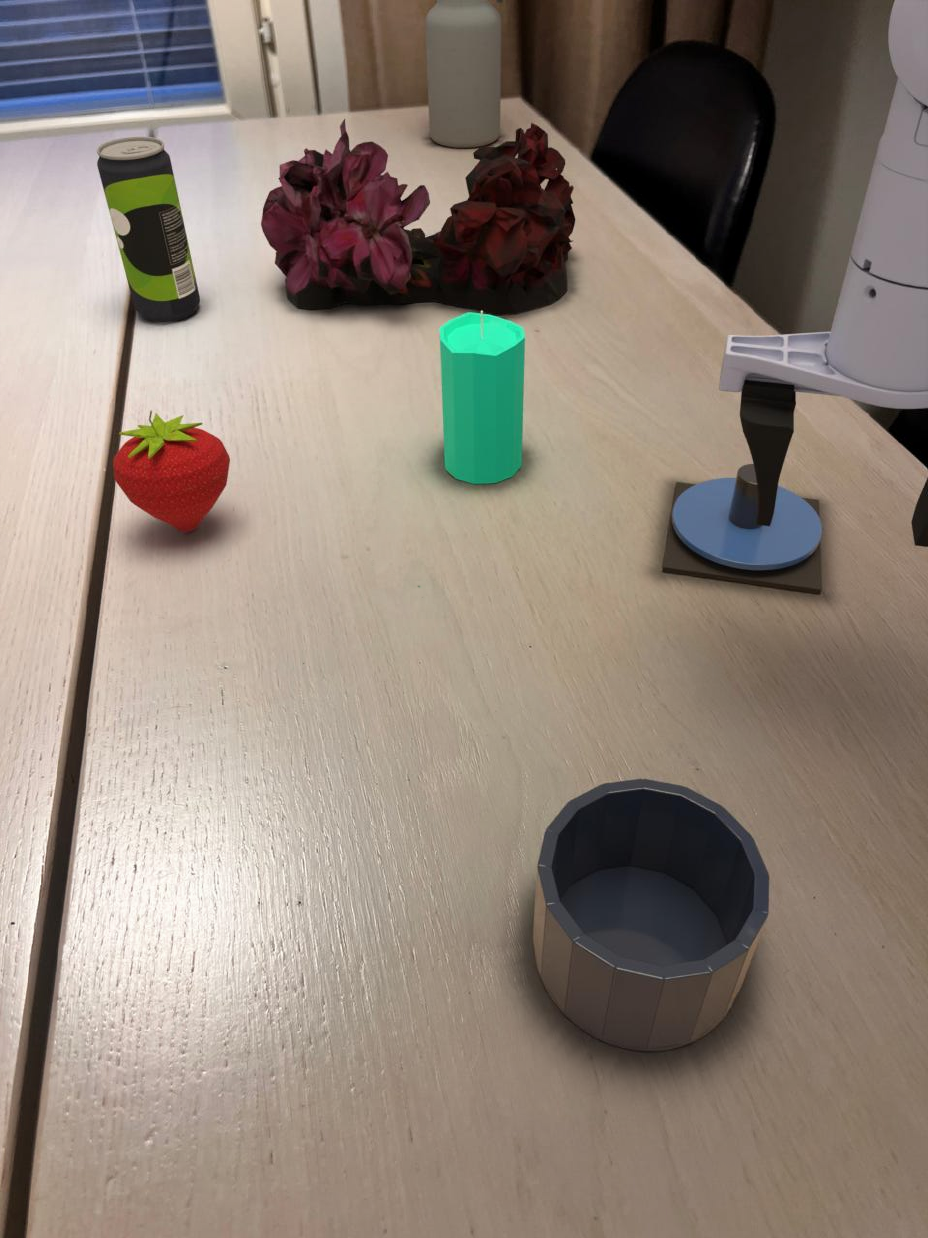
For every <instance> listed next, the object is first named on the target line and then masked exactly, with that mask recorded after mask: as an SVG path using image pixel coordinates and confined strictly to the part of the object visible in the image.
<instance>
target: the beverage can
mask: <svg viewBox="0 0 928 1238" xmlns="http://www.w3.org/2000/svg"><path fill="white" fill-rule="evenodd" d="M96 153H97V155H98V159H97V161H96V165H97V170H98V175H99V178H100V181H101V186H102V189H103V193H104V197H105V200H106V204H107V208H108V211H109V216H110V220H111V223H112V227H113V231H114V235H115V239H116V242H117V247H118V250H119V254H120V257H121V261H122V265H123V269H124V273H125V277H126V280H127V285H128V289H129V292H130V296H131V299H132V305H133V307H134V310H135V311H136V313H137V314H139V315H140V316H142V318H143V319H145V320H146V321H149V322H153V323H160V324H161V323H162V324H163V323H164V324H165V323H174V322H178V321H182V320H184V319H187V318H188V317H191V316H192V315H193V314H194V313H196V310H197V308H198V306H199V304H200V302H201V297H200V293H199V287H198V284H197V278H196V274H195V273H196V272H195V269H194V264H193V259H192V254H191V250H190V245H189V240H188V237H187V231H186V226H185V221H184V217H183V212H182V207H181V202H180V197H179V194H178V188H177V184H176V180H175V174H174V170H173V165H172V161H171V156H170V155H169V153H168V152H167V151H166V150H165V143H164V141H163V140H161V139H160V138H157V137H153V136H126V137H120V138H115V139H112V140H109V141H105V142H103V143H101V144H100V145H99V146H97V148H96Z"/></svg>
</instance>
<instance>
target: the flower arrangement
mask: <svg viewBox="0 0 928 1238" xmlns="http://www.w3.org/2000/svg"><path fill="white" fill-rule="evenodd" d="M346 126H347V125H346V118H344V119H343V120H342V122H341V123H340V125H339V129H340V135H341V136H340V137H339V138H338V140H337V142H336V143H335V146H334V149H333V152H332V153H331V151H329V150H328V149H324V150H325V151H324V152H323V153H321V152H319V151H317V150H316V149H309V148H307V147H306V148H304V149H303V153H304V155H303V156H302V157H301V158H300V159H299V160H296V159H295V160H294V159H293V160H289V161H286V162H283V163H281V164H279V177H278V180H279V183H280V185H281V186H280V185H279V186H277V187H275V188H273V189H271V190H270V191H269V192H268V195H267V197H266V198H265V202H264V204H263V207H262V214H261V220H260V227H261V230H262V233H263V235H264V237H265V239H266V241H267V243H268V245H269V246H270V247H271V248H272V249H273V250H274V251H275V259H274V265H275V266H276V267H277V268H278V269H279V270H280V272H282V274H283V275H284V276H285V278H284V286H285V287H284V288H285V292H286V298H287V299H288V300H289V302H291V303H292V304H293V305H294V306H295V307H296V308H298V309H305V310H324V309H325V310H326V309H327V310H328V309H331V308H334V307H336V306H340V305H343V304H349V305H357V306H359V305H360V306H373V305H374V306H375V305H389V304H393V305H395V304H396V305H404V304H405V305H406V304H412V303H413V304H414V303H427V302H428V303H429V302H437V303H440V304H445V305H449V306H454V307H459V308H466V309H470V310H474V311H479V312H481V311H483V313H485V314H489V315H493V316H497V315H498V316H499V315H502V316H503V315H517V314H520V313H523V312H524V313H525V312H528V311H531V310H535V309H539V308H542V307H547V306H550V305H552V304H553V303H555V302H557V301H559V300H561V299H562V297H564V295H565V294H566V292H567V291H568V276H567V269H566V264H565V262H566V261H567V260H568V259H569V252H570V251H571V250H572V249H573V247H572V245H571V243H572V242H574V240H571V239H570V236H571V235H572V234H573V233H574V229H575V226H576V225H575V224H576V215H575V213H574V209H573V204H574V201H573V199H572V194H573V192H574V189H575V187H574V186H573V184H572V185H570V182H569V181H568V180H567V179H566V178H565V177H564V175H562V174H563V172H564V169H565V166H566V164H567V163H566V159H565V157H564V156H563V155H562V154H561V153H560V151H559V150H558V149H556V148H554V147H549V134H548V132H546V130H544V129H543V128H542V127H540V126H539V125H537V124H536V123H533V122H531V123H530V127H529V128H526V130H525V132H524V129H523V128H522V127H519V128H517V129H515V140H506V141H504V142H502V143H500V144H499V145H496V146H489V145H484V146H480V147H477V149H476V150H474V151H473V153H472V155H473V159H474V160H478V162H477V163H476V165H475V166H474V167H473V169H472V170H470V172H469V173H468V174H467V175H466V176H465V177H464V178H465V179H464V180H465V183H466V189H467V192H468V198H467V199H466V200H463V201H460V202H457V203H454V204H453V205H452V206H451V207H450V208H449V211H450V216H448V217H447V218H446V219H445V221H444V224H442V227H441V229H440V231H437V232H435V233H434V234H431V235H427V236H426V233H425V232H424V230H423V229H422V228H421V227H418V228H412V229H406V228H405V227H407V226H409V225H411V224H412V223H414V222H417V221H419V220H420V219H421V217H422V216H423V215H424V213H425V211H427V209H428V208H429V206H430V205H431V199H430V193H429V191H428V188H427V187H426V185H425V184H420V185H419V186H417V188H415V189H414V190H413V191H412V192H411V193H410V194H409V195H408V196H407V197H405V198H403V200H402V196H403V195H404V193H405V192H406V189H408V188H407V187H409V186H408V185H409V184H408V183H401V184H399V181H398V178H397V177H394V176H391V174H390V173H389V171H386V170H387V164H388V158H389V154H388V153H387V151H386V149H385V148H383V147H382V146H381V145H379V144H378V143H376V142H374V141H363V142H361V143H358V144H356V145H355V146H354V147H353V148H352V149H350V137H349V135H348V131H347V127H346ZM385 171H386V172H385ZM545 180H547V183H546V185H545V187H544V188H543V187H542V184H543V183H544V182H545Z"/></svg>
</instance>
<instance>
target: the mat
mask: <svg viewBox="0 0 928 1238" xmlns="http://www.w3.org/2000/svg"><path fill="white" fill-rule="evenodd" d="M696 484H697V483H688V482H679V481H676V482H675V485H674V486H675V487H674V493H673V500H672V505H671V512H670V518H669V523H668V524H669V525H668V531H667V537H666V542H665V543H666V544H665V550H664V557H663V563H662V569H661V572H665V573H672V574H679V575H685V576H692V577H700V578H707V579H713V580H714V579H715V580H720V581H726V582H727V581H728V582H735V583H740V584H741V583H742V584H749V585H754V586H755V585H756V586H761V587H762V586H763V587H769V588H775V589H784V590H789V591H796V592H797V591H798V592H804V593H811V594H818V595H820V594H822V590H823V585H822V584H823V583H822V581H823V580H822V553H821V550H822V549H821V541H820V542H819V545H818V546H817V548H816V550H815V551H814V552H813V553H812V554H811V555H810V556H809V557H807V558H806V559H805V560H803V561H801V562H799V563H797V564H795V565H792V566H789V567H785V568H781V569H774V570H746V569H739V568H733V567H729V566H725V565H722V564H719V563H716V562H713V561H711V560H709V559H706V558H704V557H702V556H701V555H699V554H697V553H696V552H694V551H693V550H691V549H690V548H689V547H688V546H686V545H685V544H684V543H683V542H682V540H681V539H680V538H679V537H678V535H677V534H676V532H675V530H674V527H673V524H672V511H673V507H674V504H675V502H676V500H677V499H678V497H679V496H680V495H681V494H682V493H683V492H684V491H685V490H687V489H689V488H690V487H692V486H694V485H696ZM801 498H802V499H804V500H805V501H806V502H807V503H808V504H809V505H811V507H812V508H813V509H814V510H815V511H816V513H817V515H818V516H819V519H820V520H821V517H820V499H817V498H816V499H815V498H809V497H808V498H807V497H801Z"/></svg>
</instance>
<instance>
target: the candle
mask: <svg viewBox="0 0 928 1238" xmlns="http://www.w3.org/2000/svg"><path fill="white" fill-rule="evenodd" d="M439 351H440V352H439V353H440V377H441V378H440V380H441V404H442V405H441V407H442V430H443V431H442V432H443V455H444V456H443V457H444V458H443V459H444V470H445V471H447V472H448V474H450V475H451V476H453V478H454V479H456V480H460V481H461V482H466V483H470V484H474V485H482V484H497V483H499V482H503V481H505V480H507V479H510V478H513V477H514V476H515V474H516V473H518V471H519V470H520V469H521V468H522V467H523V462H522V461H523V435H524V433H523V432H524V431H523V429H524V392H525V390H524V389H525V360H526V359H525V355H526V354H525V353H526V335H525V329H524V327H523V326H521V325H519V324H517V323H515V322H513V321H511V320H508V319H505V318H501V317H499V316H497V315H494V314H489V313H484V312H483V311H480V313H479V312H471V311H468V312H465V313H463V314H461V315H459V316H456V317H454V318H451V319H449V320H448V321H446V322H445V323H444V324H442V326H440V327H439Z"/></svg>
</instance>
